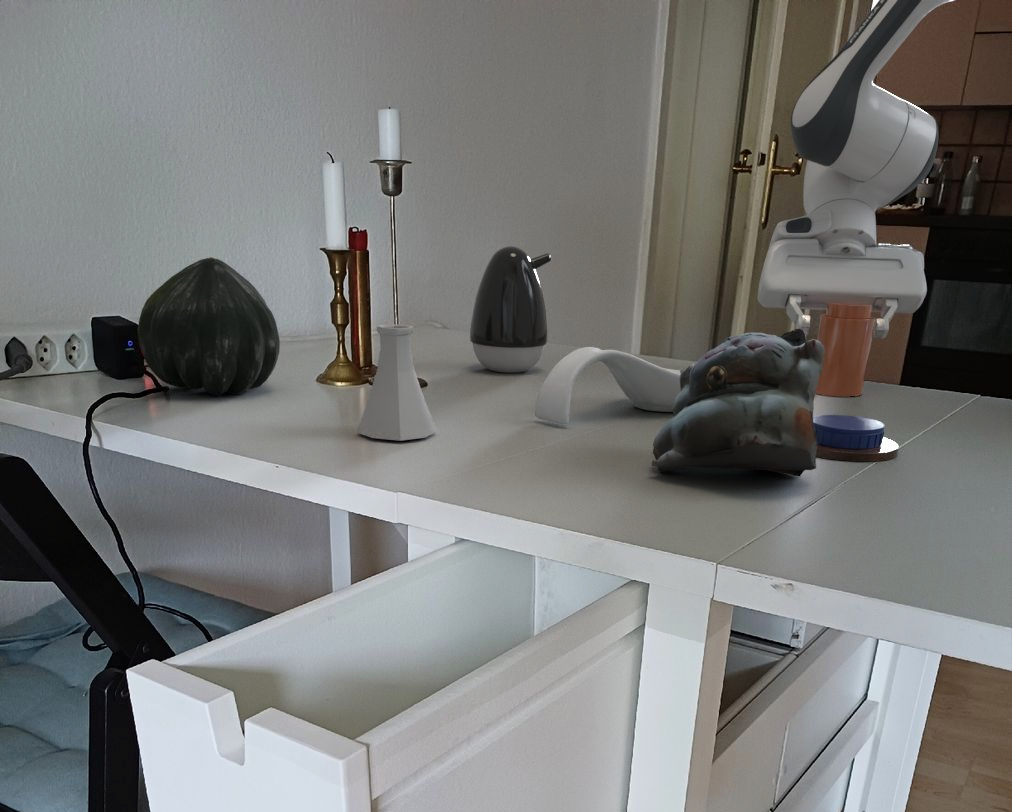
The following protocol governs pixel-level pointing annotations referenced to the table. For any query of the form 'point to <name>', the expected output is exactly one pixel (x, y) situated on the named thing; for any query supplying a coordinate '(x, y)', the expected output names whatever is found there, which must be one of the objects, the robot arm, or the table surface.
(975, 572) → the table surface
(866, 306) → the jar
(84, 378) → the table surface
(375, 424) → the flask
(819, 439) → the jar lid
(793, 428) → the lucky cat figurine
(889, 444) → the coaster
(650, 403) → the spoon rest
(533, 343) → the pump dispenser
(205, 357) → the squash
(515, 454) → the table surface
